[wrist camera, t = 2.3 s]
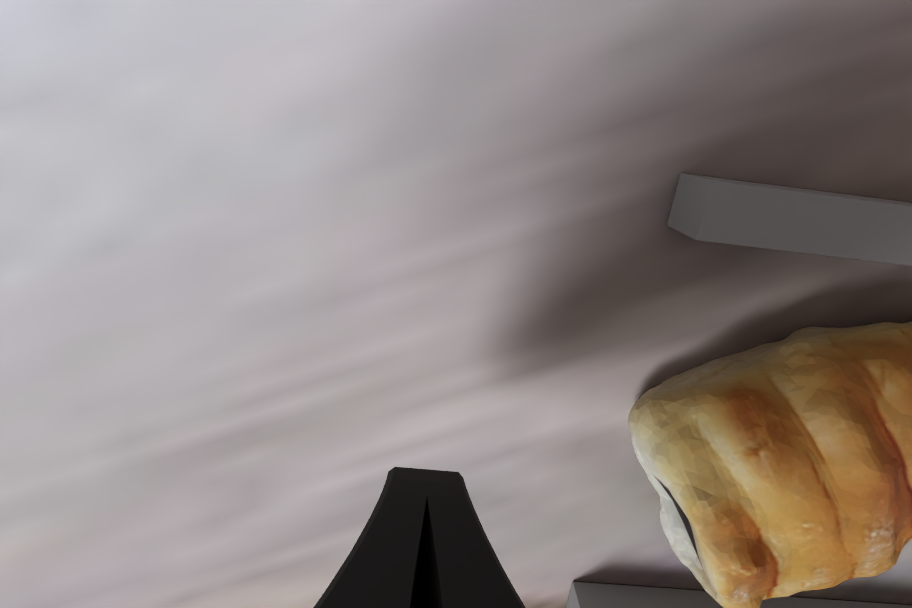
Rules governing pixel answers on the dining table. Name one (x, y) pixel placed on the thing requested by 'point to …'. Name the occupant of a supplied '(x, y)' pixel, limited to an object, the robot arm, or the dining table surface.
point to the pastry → (785, 461)
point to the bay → (779, 228)
